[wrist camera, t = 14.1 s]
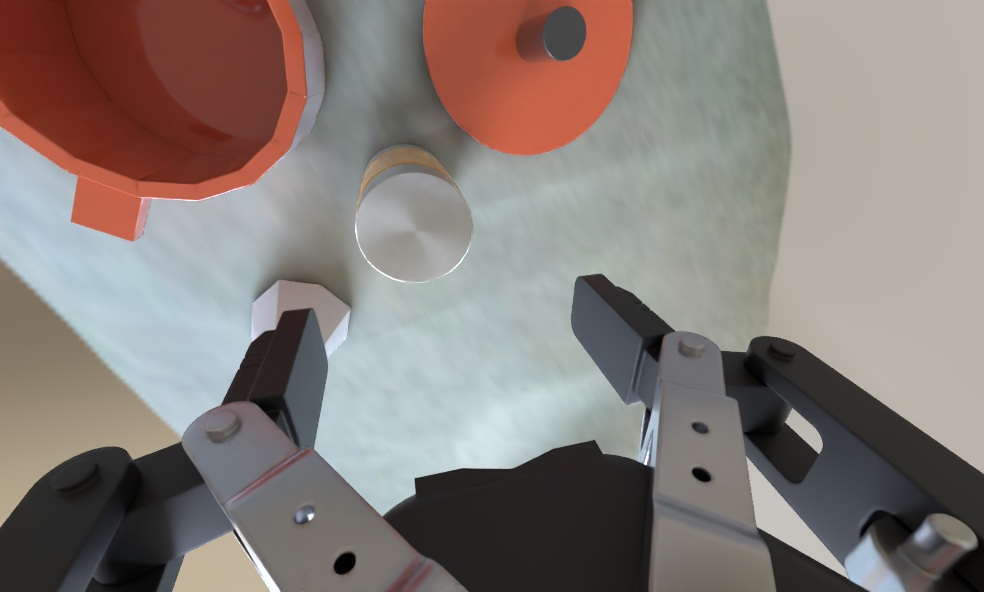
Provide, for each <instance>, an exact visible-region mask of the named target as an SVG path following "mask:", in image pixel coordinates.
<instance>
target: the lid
mask: <svg viewBox="0 0 984 592" xmlns="http://www.w3.org/2000/svg"><path fill="white" fill-rule="evenodd" d="M632 31H633V6H632V0H425V2H424V12H423V44H424V52H425V59H426V63H427V67H428V71H429V75H430V77H431V80H432V83H433V86H434V88H435V90H436V92H437V94H438V96H439V98H440V100H441V102H442V104H443V105H444V107H445V109H446V110H447V112H448V113H449V115H450V116H451V117H452V118H453V119H454V121H455V122H456V123H457V124H458V125H459V126H460V127H461V128H462V129H463V130H464V131H465V132H466V133H467V134H469V135H470V136H471V137H473V138H474V139H476V140H477V141H479V142H480V143H482V144H484V145H486V146H488V147H490V148H492V149H494V150H497V151H500V152H503V153H508V154H514V155H534V154H541V153H545V152H549V151H552V150H555V149H557V148H560V147H562V146H564V145H566V144H568V143H569V142H571V141H573V140H575V139H576V138H577V137H579V136H580V135H581V134H583V133H584V132H585V131H586V130H587V129H588V128H589V127H590V126H591V125H592V124H593V123H594V122H595V121H596V120H597V119H598V118H599V117H600V115H601V114H602V113H603V112H604V110H605V109H606V107H607V106H608V104H609V103H610V101H611V100H612V98H613V96H614V94H615V92H616V90H617V88H618V86H619V84H620V81H621V79H622V76H623V74H624V71H625V67H626V64H627V61H628V57H629V52H630V47H631V41H632Z"/></svg>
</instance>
